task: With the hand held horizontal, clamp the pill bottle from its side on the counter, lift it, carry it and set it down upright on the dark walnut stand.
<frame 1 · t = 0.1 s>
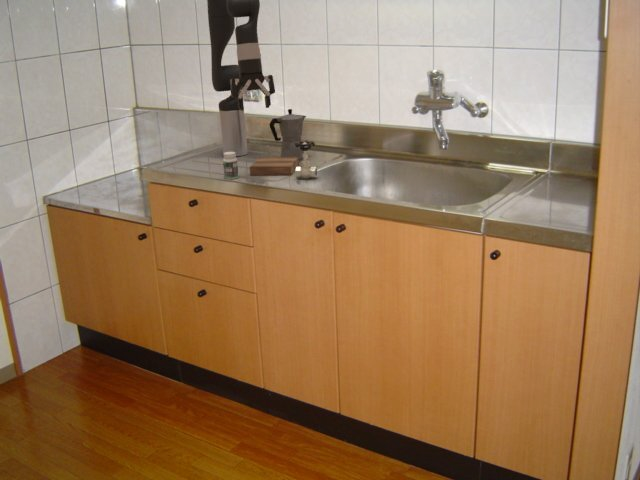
hand: (254, 109, 240), 22 cm above the counter, tool pointing down, fingers open, 8 cm apart
stand: (275, 170, 253), on the counter
valve: (306, 179, 240), on the counter
coffeepot: (290, 159, 268), on the counter
pill bottle: (231, 178, 246), on the counter
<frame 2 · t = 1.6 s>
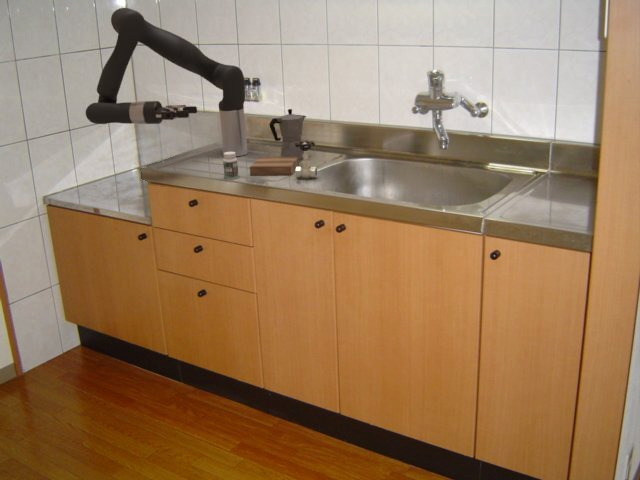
hand: (192, 111, 243), 22 cm above the counter, tool horizontal, fingers open, 8 cm apart
nothing on the counter moved.
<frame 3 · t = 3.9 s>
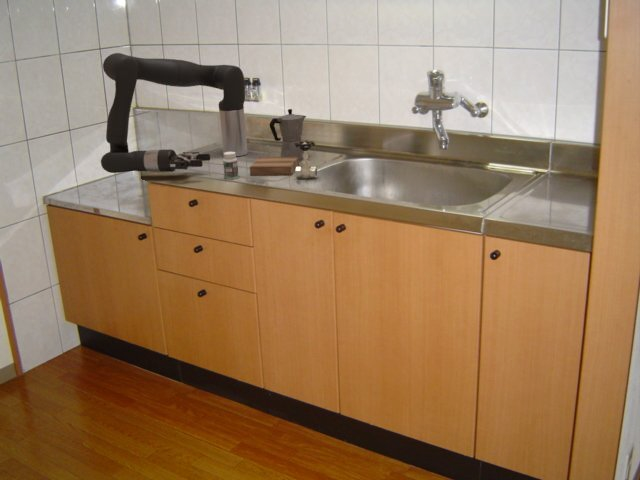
hand: (206, 160, 246), 6 cm above the counter, tool horizontal, fingers open, 8 cm apart
nothing on the counter moved.
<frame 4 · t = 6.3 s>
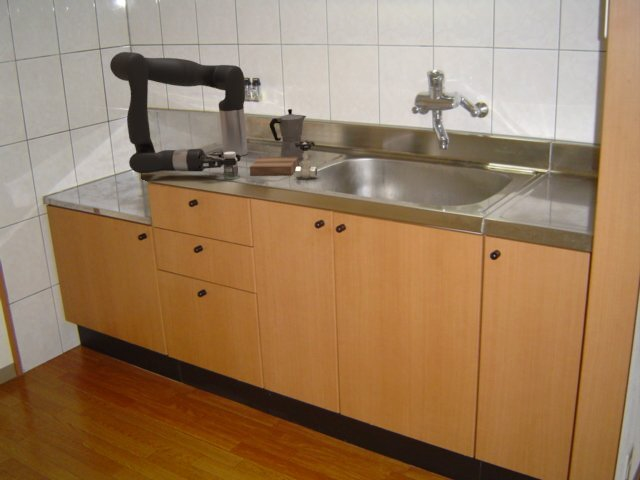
hand: (237, 159, 244), 6 cm above the counter, tool horizontal, fingers closed on pill bottle, 4 cm apart
pill bottle: (231, 177, 246), on the counter, touching gripper
everything else where it was.
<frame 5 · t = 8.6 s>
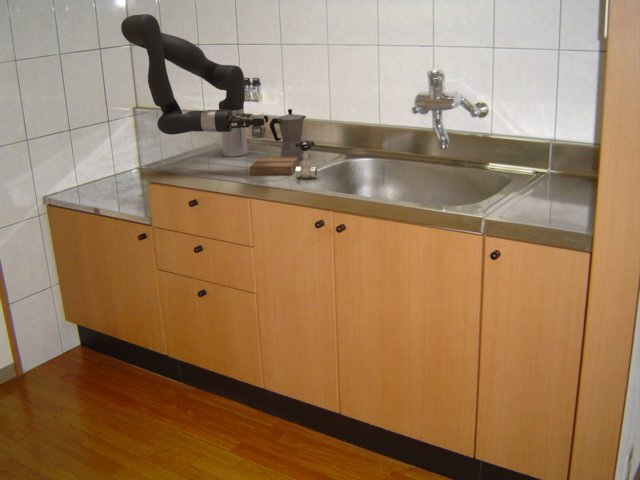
hand: (265, 120, 244), 18 cm above the counter, tool horizontal, fingers closed on pill bottle, 4 cm apart
pill bottle: (259, 139, 247), point 12 cm above the counter, touching gripper
everything else where it was.
when the fingers open (10 cm above the counter, at t = 10.9 s): pill bottle stays where it is, resting on stand.
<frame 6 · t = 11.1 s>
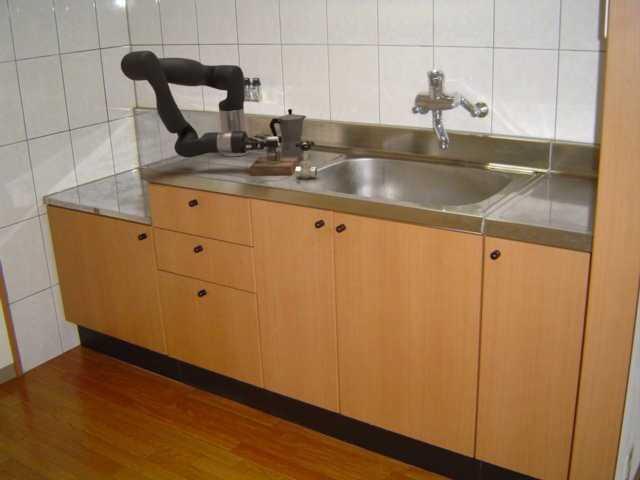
hand: (279, 141, 249), 10 cm above the counter, tool horizontal, fingers open, 6 cm apart
pill bottle: (274, 162, 252), point 3 cm above the counter, touching stand
everything else where it was.
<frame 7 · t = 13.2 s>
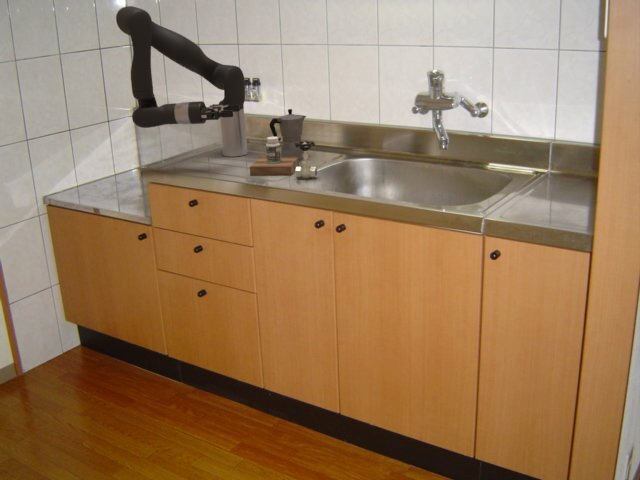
hand: (236, 110, 248), 21 cm above the counter, tool horizontal, fingers open, 8 cm apart
nothing on the counter moved.
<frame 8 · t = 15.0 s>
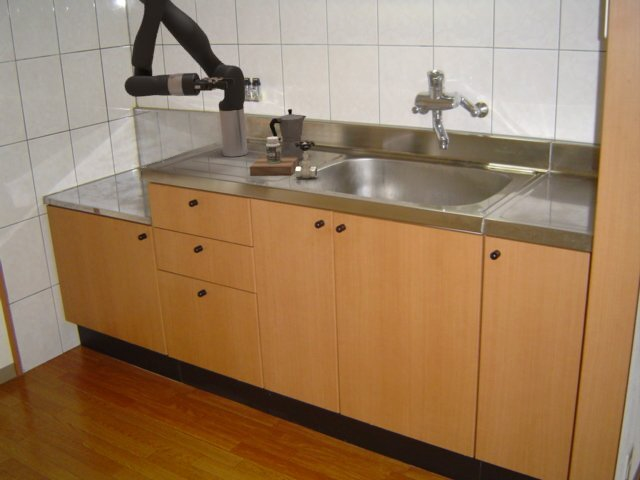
hand: (230, 83, 245), 30 cm above the counter, tool horizontal, fingers open, 8 cm apart
nothing on the counter moved.
at the end: pill bottle inside the target area on the stand (0.1 cm from its centre), point 2.8 cm above the stand's base; pill bottle tilted 0°; the gripper is holding nothing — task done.
